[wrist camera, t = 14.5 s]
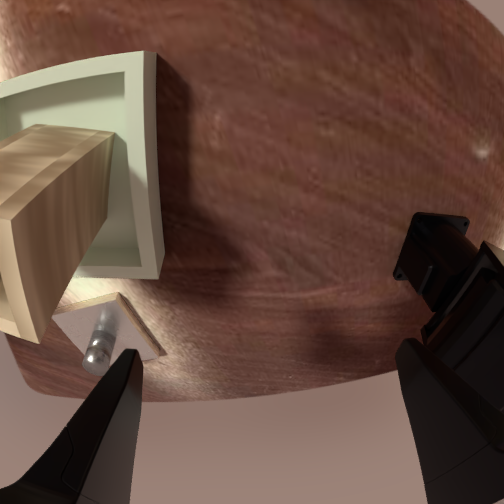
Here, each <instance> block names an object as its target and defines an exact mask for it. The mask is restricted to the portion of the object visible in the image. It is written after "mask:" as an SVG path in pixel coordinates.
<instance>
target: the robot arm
mask: <svg viewBox="0 0 504 504" xmlns="http://www.w3.org/2000/svg"><path fill="white" fill-rule="evenodd" d="M419 217H420V219H419V220H418V218H419ZM469 223H470V221H469V219H468V218H466V217H463V216H454V215H444V214H434V213H424V212H417V213H415V214H414V215H413V218H412V221H411V224H410V227H409V230H408V233H407V236H406V239H405V242H404V245H403V248H402V250H401V253H400V256H399V259H398V261H397V264H396V267H395V270H394V272H393V277H394V279H395V280H409V282H410V283H411V285H412V286H413V288H414V289H415V291H416V292H417V294H418V295H421V296H422V297H423V299H424V300H425V302H426V303H427V305H428V306H429V308H430V310H431V311H432V312H436V313H435V314H434V315H433V317H432V318H431V319H430V321H429V322H428V323H427V324H426V325H424V326H423V328H422V329H421V335H422V339H423V344H424V345H423V344H422V343H420V342H419V341H418V340H417V339H415V338H407V339H404V340H403V342H402V343H401V345H400V347H399V348H398V350H397V352H396V355H395V359H396V364H397V370H398V375H399V379H400V385H401V391H402V395H403V399H404V402H405V406H406V409H407V413H408V417H409V421H410V425H411V428H412V432H413V436H414V440H415V444H416V448H417V453H418V457H419V462H420V466H421V470H422V475H423V480H424V484H425V485H424V486H425V491H426V497H427V502H428V504H504V250H502V249H500V248H498V247H496V246H494V245H492V244H490V243H488V242H486V241H483V242H482V244H481V246H480V249H479V250H478V249H477V248H476V247H475V246H474V245H473V244H472V243H471V242H470V241H469V240H468V239H467V238H466V237H465V234H466V231H467V229H468V226H469ZM398 274H399V275H398ZM142 383H143V363H142V360H141V357H140V354H139V351H138V350H137V349H130V348H126V349H124V350H123V352H122V353H121V354H120V355H119V357H118V358H117V359H116V360H115V362H114V363H113V364H112V366H111V367H110V368H109V369H108V371H107V372H106V373H105V375H104V376H103V377H102V378H101V380H100V381H99V382H98V384H97V385H96V386H95V387H94V389H93V390H92V391H91V393H90V394H89V395H88V397H87V398H86V399H85V401H84V402H83V403H82V405H81V406H80V407H79V409H78V410H77V411H76V413H75V414H74V415H73V417H72V418H71V419H70V421H69V422H68V423H67V427H64V429H63V430H62V431H61V433H60V434H59V436H58V437H57V438H56V439H55V441H54V442H53V443H52V444H51V446H50V447H49V448H48V449H47V450H46V451H45V452H44V454H43V455H42V456H41V457H40V458H39V459H38V460H37V461H36V462H35V463H34V464H33V465H32V467H31V468H30V469H29V470H28V471H27V472H26V473H25V474H24V475H23V476H22V477H21V478H20V479H19V480H18V481H16V482H15V483H13V484H11V485H9V486H7V487H4V488H1V489H0V504H129V502H130V492H131V483H132V474H133V465H134V457H135V449H136V443H137V435H138V429H139V422H140V416H141V403H142Z"/></svg>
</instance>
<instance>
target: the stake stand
mask: <svg viewBox="0 0 504 504" xmlns="http://www.w3.org/2000/svg"><path fill="white" fill-rule="evenodd" d="M52 318H53V320H54V321H55V322H56V323H57V324H58V326H59V327H60V328H61V329H62V330H63V332H64V333H65V334H66V335H67V336H68V337H69V338H70V340H71V341H72V342H73V343H74V344H75V345H76V346H77V347H78V348H79V350H80V351H81V352H82V353H83V354H84V355H85V356H84V359H83V363H82V365H83V367H84V369H85V370H86V371H88V372H89V373H91V374H94V375H98V376H104V375H105V373H106V372H107V371H108V369H109V365H112V364H113V363H114V362H115V360H116V359H117V358H118V357H119V355H120V354H121V353H122V352H123V350H124V349H126V348H130V349H137V350H138V351H139V354H140V357H141V360H142V361H143V360H150V359H156V358H159V354H160V349H159V348H158V347H157V345H156V344H155V343H154V341H153V340H152V339H151V338H150V336H149V335H148V333H147V332H146V331H145V329H144V328H143V327H142V325H141V324H140V323H139V321H138V320H137V318H136V317H135V316H134V314H133V313H132V311H131V310H130V309H129V307H128V306H127V304H126V303H125V301H124V300H123V298H122V297H121V295H120V294H119V292H116V293H112V294H108V295H104V296H101V297H97V298H93V299H89V300H85V301H82V302H78V303H74V304H70V305H67V306H63V307H59V308H56V309H55V311H54V313H53V315H52Z"/></svg>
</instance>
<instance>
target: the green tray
mask: <svg viewBox="0 0 504 504" xmlns="http://www.w3.org/2000/svg"><path fill="white" fill-rule="evenodd" d="M34 124H46V125H57V126H67V127H77V128H86V129H94V130H102V131H109V132H115V137H114V145H113V153H112V162H111V172H110V183H109V196H108V212H107V219H106V221H105V222H104V224H103V225H102V227H101V229H100V230H99V232H98V233H97V235H96V237H95V238H94V240H93V242H92V243H91V245H90V247H89V248H88V250H87V252H86V253H85V255H84V257H83V259H82V260H81V262H80V264H79V266H78V267H77V269H76V271H75V273H74V275H73V276H72V277H94V278H125V279H159V275H160V271H161V267H162V263H163V259H164V256H165V248H164V239H163V229H162V218H161V206H160V193H159V177H158V159H157V134H156V53H155V52H148V51H138V52H129V53H121V54H114V55H108V56H101V57H96V58H90V59H85V60H80V61H75V62H70V63H66V64H62V65H57V66H53V67H49V68H46V69H42V70H38V71H35V72H31V73H28V74H25V75H21V76H18V77H15V78H12V79H9V80H6V81H3V82H0V141H2V140H4V139H6V138H8V137H10V136H12V135H14V134H16V133H18V132H20V131H22V130H24V129H26V128H28V127H30V126H32V125H34Z"/></svg>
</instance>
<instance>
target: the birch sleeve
mask: <svg viewBox="0 0 504 504" xmlns="http://www.w3.org/2000/svg"><path fill="white" fill-rule="evenodd" d="M114 137H115V132H109V131H102V130H94V129H86V128H77V127H67V126H57V125H46V124H34V125H32V126H30V127H28V128H26V129H24V130H22V131H20V132H18V133H16V134H14V135H12V136H10V137H8V138H6V139H4V140H2V141H0V331H3V332H6V333H8V334H11V335H14V336H17V337H20V338H22V339H25V340H28V341H31V342H34V343H38V344H40V341H41V339H42V337H43V335H44V332H45V330H46V328H47V326H48V324H49V322H50V320H51V317H52V315H53V313H54V311H55V309H56V307H57V305H58V303H59V301H60V299H61V297H62V295H63V293H64V291H65V290H66V288H67V286H68V284H69V282H70V280H71V278H72V276H73V275H74V273H75V271H76V269H77V267H78V266H79V264H80V262H81V260H82V259H83V257H84V255H85V253H86V252H87V250H88V248H89V247H90V245H91V243H92V242H93V240H94V238H95V237H96V235H97V233H98V232H99V230H100V229H101V227H102V225H103V224H104V222H105V221H106V219H107V212H108V196H109V183H110V172H111V162H112V153H113V145H114Z"/></svg>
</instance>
